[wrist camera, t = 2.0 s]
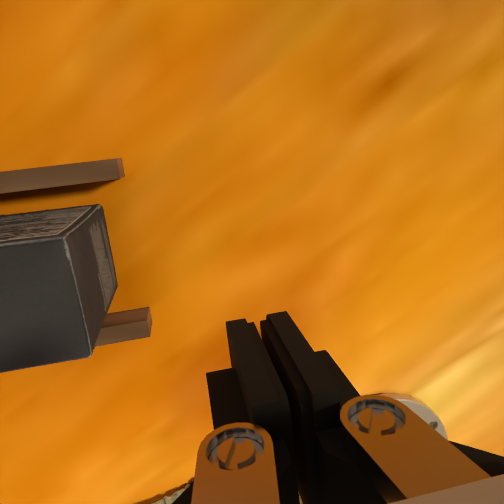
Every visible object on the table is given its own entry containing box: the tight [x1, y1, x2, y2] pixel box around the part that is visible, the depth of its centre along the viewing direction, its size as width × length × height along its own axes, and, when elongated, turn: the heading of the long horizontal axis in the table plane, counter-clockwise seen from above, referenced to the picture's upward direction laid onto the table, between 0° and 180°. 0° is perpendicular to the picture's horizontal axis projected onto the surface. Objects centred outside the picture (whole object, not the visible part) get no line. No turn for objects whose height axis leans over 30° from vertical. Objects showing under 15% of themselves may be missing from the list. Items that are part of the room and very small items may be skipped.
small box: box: [0, 204, 118, 373], centre depth 23 cm, size 11×6×10 cm, turn 96°
